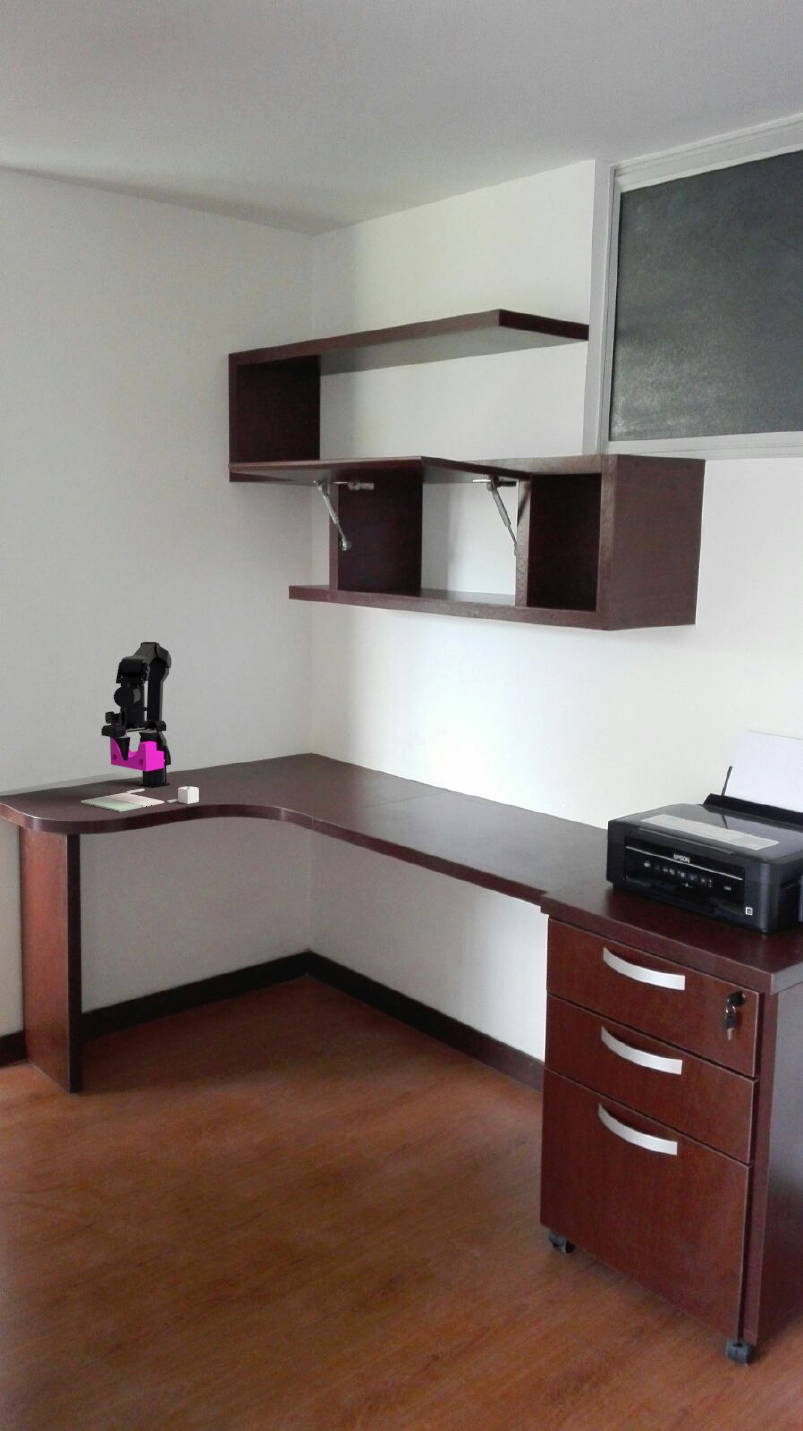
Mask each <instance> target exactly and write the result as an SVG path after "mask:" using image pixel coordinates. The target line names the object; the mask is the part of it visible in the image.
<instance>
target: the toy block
mask: <svg viewBox="0 0 803 1431" xmlns="http://www.w3.org/2000/svg"><path fill="white" fill-rule="evenodd" d="M138 746H139V747H138ZM138 746H137V750H135V751H132V750H131V749H130V748H129V753H128V759H127V761H124V760H123V757H122V755H121V752H120V749H119V747H118V745H117V743H116V741H115V740H114V739H113V738H110V737H109V748H110V749H109V750H110V752H109V753H110V765H111V766H117V767H122V768H128V769H132V770H136V771H137V770H138V771H150V770H155V769H160V768H164V761H165V760H164V752H162V751H157V750H156V742H152V741H148V742H142V743H140V742H139V743H138Z"/></svg>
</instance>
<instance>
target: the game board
mask: <svg viewBox="0 0 803 1431" xmlns="http://www.w3.org/2000/svg"><path fill="white" fill-rule="evenodd" d="M144 791H145V788H138V789H137V788H136V789H132V790H127V791H125V792H121V793H115V794H111V795H106V796H105V795H104V796H100V797H94V798H89V799H83V800H80V804H81V803H82V804H84V805H90V806H93V805H94V806H93V807H97V808H101V809H107V810H110V811H115V812H119V813H121V812H126V811H131V810H136V809H141V808H145V807H146V806H147V807H151V805H152V806H157V805H161V804H165V801H163V800H161V799H156V798H151V797H147V796H141V795H136V794H133V793H140V792H144ZM176 802H178V798H174V799H169V800H166V803H169V804H171V803H176Z"/></svg>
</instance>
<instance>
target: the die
mask: <svg viewBox="0 0 803 1431" xmlns="http://www.w3.org/2000/svg"><path fill="white" fill-rule="evenodd" d="M199 789H200V788H199V787H195V786H190V785H188V786H187V785H186V786H181V787H178V788H177V793H178V794H177V799H178V801H177V802H178V803H181V804H187V805H189V804H194V803H199V800H200V799H199V798H200V796H199V794H200V792H199V791H200V790H199Z"/></svg>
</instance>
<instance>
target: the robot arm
mask: <svg viewBox="0 0 803 1431" xmlns="http://www.w3.org/2000/svg"><path fill="white" fill-rule="evenodd" d="M171 667H172V656H171V654H170V652H169V650H167V649H165V648H164V647H163V646H161V645H160V643H159V642H157V641H142V642H141V643H140V645H139V648H138V649H136V651H135V652H134V653H133V655H130V656H129V655H128V656H124V657H123V658H121V660H120V661H119V663H118V667H117V672H116V679H115V684H120V687H118V688H116V689H115V691H114V693H113V701H114V703H115V704H116V705H117V706H118V707H119V712H118V713H115V711H113V710H112V711H107V712H105V714H104V720H105V724H106V725H103V726H102V727H101V733H100V734H101V737H102V736H103V737H109V739H110V738H113V739H114V740H115V741H116V743H117V745H118V747H119V749H120V752H121V755H122V757H123V760H124V761H127V759H128V753H129V749H130V745H131V736H128V733H134V732H138V734H139V743H142V742H148V741H152V742H156V750H157V751H162V752H164V768H160V769H155V770H150V771H142V770H141V771H142V782H139V785H142V786H146V787H151V788H156V787H157V788H158V787H163V786H167V785H171V782H169V781H168V780H167V778H168V777H167V766H171V765H172V755H171V751H170V749H169V746H168V742H167V741H168V740H167V739H166V736H165V735H164V733H163V732H166V731H167V724H166V722H165V720H163V701H164V700H163V699H164V698H163V697H164V682H165V681H166V679H167V678H168V676H169V675H170V669H171ZM146 682H147V693H146V692H145V684H146ZM145 693H146V694H147V695H146V694H145ZM145 695H146V696H145ZM145 697H146V698H145ZM145 699H146V700H145ZM145 702H146V704H145ZM138 747H139V745H138V746H137V748H138Z"/></svg>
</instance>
